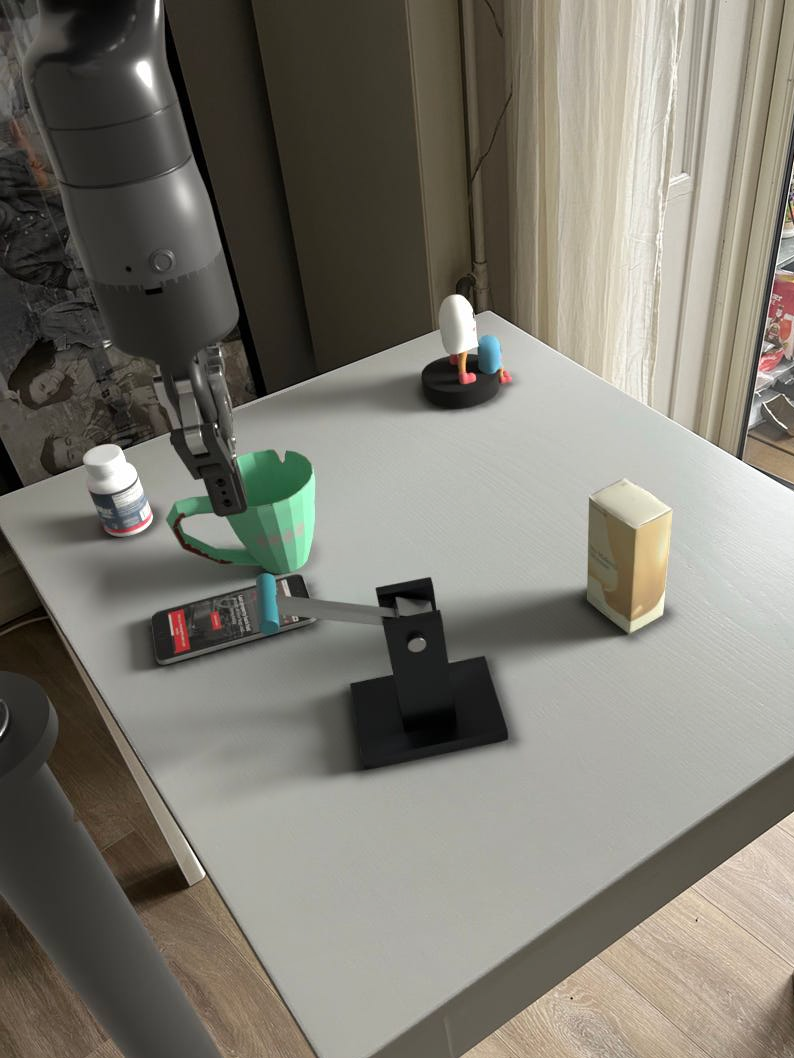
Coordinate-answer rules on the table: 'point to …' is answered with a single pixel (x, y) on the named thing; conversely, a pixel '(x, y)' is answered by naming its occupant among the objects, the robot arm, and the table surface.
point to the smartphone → (219, 621)
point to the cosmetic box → (627, 554)
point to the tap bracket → (423, 691)
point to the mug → (262, 514)
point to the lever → (325, 608)
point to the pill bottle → (116, 491)
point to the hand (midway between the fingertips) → (232, 507)
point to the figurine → (463, 361)
